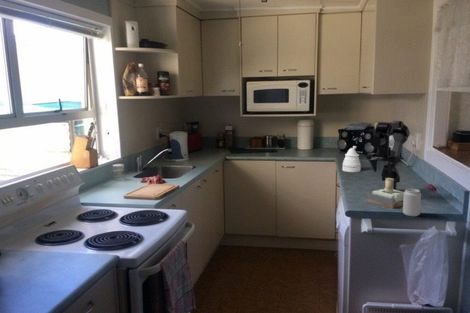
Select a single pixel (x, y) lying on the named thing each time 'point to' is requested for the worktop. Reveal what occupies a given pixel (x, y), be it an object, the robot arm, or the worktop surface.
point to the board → (383, 200)
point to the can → (412, 202)
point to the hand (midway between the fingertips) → (382, 173)
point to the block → (395, 195)
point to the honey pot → (351, 161)
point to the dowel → (389, 185)
